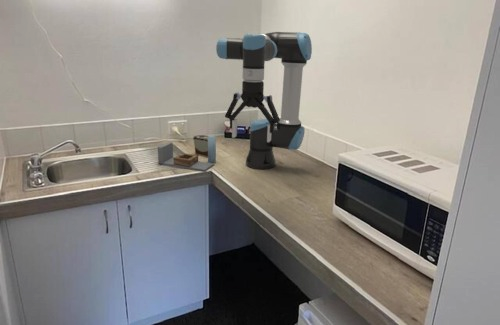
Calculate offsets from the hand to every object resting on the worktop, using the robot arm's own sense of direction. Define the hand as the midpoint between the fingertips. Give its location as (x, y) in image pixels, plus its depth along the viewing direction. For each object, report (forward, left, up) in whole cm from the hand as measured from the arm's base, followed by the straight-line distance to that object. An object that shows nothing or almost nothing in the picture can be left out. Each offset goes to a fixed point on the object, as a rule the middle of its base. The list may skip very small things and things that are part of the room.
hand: (251, 139), depth 139 cm
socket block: (-31, -46, -26) cm, 61 cm away
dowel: (-40, -36, -27) cm, 60 cm away
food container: (-51, -45, -27) cm, 73 cm away
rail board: (-31, -46, -27) cm, 62 cm away
